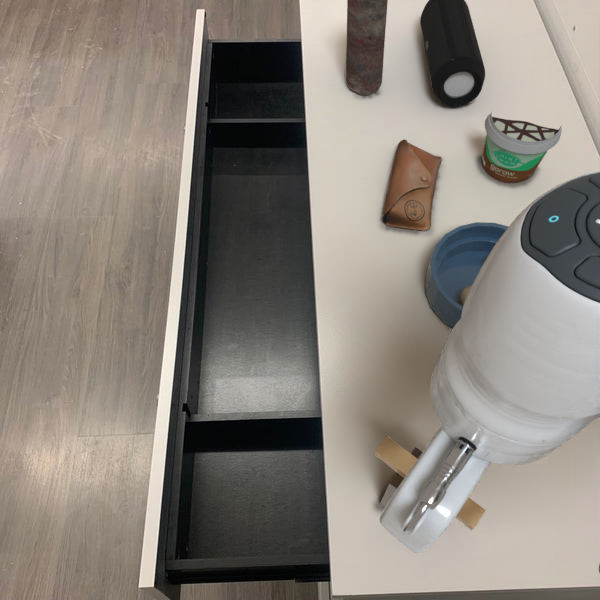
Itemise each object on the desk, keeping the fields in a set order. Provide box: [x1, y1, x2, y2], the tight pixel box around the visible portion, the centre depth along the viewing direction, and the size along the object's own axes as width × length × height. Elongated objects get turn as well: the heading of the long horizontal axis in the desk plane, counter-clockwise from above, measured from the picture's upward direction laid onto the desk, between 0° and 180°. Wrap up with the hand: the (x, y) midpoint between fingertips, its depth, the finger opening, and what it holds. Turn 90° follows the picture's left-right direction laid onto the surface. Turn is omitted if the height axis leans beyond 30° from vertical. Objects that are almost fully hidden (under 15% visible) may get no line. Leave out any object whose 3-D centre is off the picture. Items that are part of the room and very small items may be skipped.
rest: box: [379, 446, 423, 509], centre depth 61 cm, size 6×5×12 cm
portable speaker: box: [419, 0, 486, 108], centre depth 106 cm, size 26×10×10 cm, turn 179°
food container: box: [481, 110, 563, 184], centre depth 90 cm, size 12×6×10 cm, turn 70°
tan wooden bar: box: [374, 435, 486, 531], centre depth 55 cm, size 12×2×1 cm, turn 50°
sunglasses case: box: [381, 138, 443, 232], centre depth 92 cm, size 18×7×7 cm
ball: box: [459, 285, 472, 306], centre depth 78 cm, size 4×4×4 cm
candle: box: [345, 0, 389, 96], centre depth 100 cm, size 8×7×20 cm
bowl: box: [424, 221, 509, 329], centre depth 79 cm, size 17×17×6 cm
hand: (457, 448), depth 45 cm, fingers open, 8 cm apart
